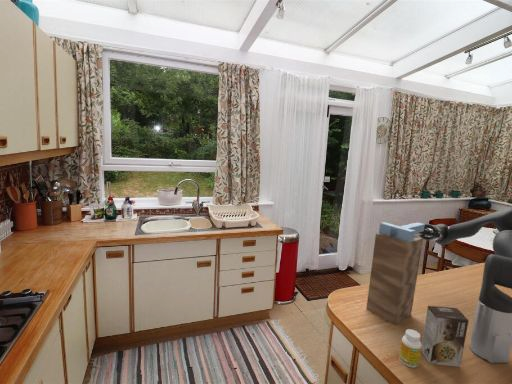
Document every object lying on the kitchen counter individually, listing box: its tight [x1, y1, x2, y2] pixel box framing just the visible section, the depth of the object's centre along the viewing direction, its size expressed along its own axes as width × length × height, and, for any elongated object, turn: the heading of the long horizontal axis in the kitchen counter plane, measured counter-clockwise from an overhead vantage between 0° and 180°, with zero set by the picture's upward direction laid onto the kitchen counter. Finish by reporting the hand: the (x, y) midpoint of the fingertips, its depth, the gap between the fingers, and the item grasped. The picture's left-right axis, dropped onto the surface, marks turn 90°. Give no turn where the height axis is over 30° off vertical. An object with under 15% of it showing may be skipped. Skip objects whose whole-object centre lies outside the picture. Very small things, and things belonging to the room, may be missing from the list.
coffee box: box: [421, 305, 469, 368], centre depth 89 cm, size 9×6×16 cm
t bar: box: [378, 221, 426, 242], centre depth 112 cm, size 20×12×4 cm, turn 125°
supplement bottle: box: [398, 328, 422, 368], centre depth 88 cm, size 5×5×10 cm
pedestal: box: [366, 232, 424, 325], centre depth 112 cm, size 12×12×32 cm
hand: (416, 230), depth 126 cm, fingers open, 8 cm apart
